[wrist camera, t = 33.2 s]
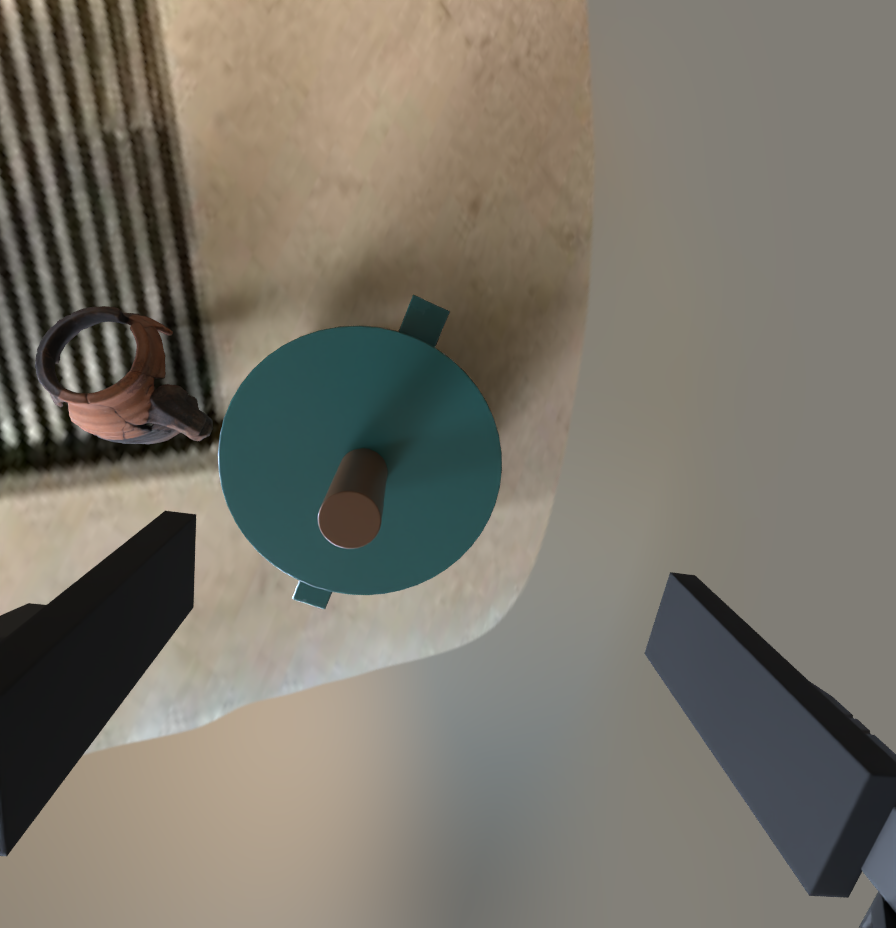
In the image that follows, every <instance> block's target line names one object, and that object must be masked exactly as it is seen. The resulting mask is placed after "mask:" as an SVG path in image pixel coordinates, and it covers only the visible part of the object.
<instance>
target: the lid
mask: <svg viewBox="0 0 896 928" xmlns="http://www.w3.org/2000/svg"><path fill="white" fill-rule="evenodd" d="M218 463H219V475H220V480H221V486H222V490H223V493H224V496H225V499H226V503H227V506H228V508H229V510H230V512H231V514H232V516H233V518H234V520H235V522H236V524H237V525H238V527H239V528H240V530H241V531H242V533H243V534H244V536H245V537H246V538H247V540H248V541H249V542H250V543H251V544H252V545H253V547H254V548H255V549H256V550H257V551H258V552H259V553H260V554H261V555H262V556H263V557H265V558H266V559H267V560H268V561H269V562H270V563H272V564H273V565H274V566H276V567H277V568H279V569H280V570H281V571H283V572H284V573H286V574H288V575H290V576H292V577H293V578H295V579H297V580H299V581H301V582H304V583H306V584H309V585H311V586H314V587H317V588H320V589H324V590H328V591H331V592H337V593H344V594H352V595H373V594H385V593H390V592H395V591H400V590H403V589H406V588H409V587H412V586H415V585H418V584H420V583H422V582H424V581H427V580H429V579H431V578H433V577H434V576H436V575H438V574H439V573H441V572H443V571H444V570H446V569H447V568H448V567H450V566H451V565H452V564H453V563H455V562H456V561H457V560H458V559H460V558H461V557H462V556H463V554H464V553H465V552H466V551H467V550H468V549H469V548H470V547H471V546H472V545H473V543H474V542H475V541H476V539H477V538H478V537H479V535H480V534H481V533H482V531H483V529H484V527H485V526H486V524H487V522H488V520H489V518H490V516H491V513H492V511H493V508H494V506H495V504H496V500H497V496H498V492H499V488H500V481H501V473H502V453H501V446H500V440H499V434H498V431H497V428H496V424H495V421H494V418H493V416H492V413H491V411H490V409H489V407H488V404H487V402H486V401H485V399H484V397H483V396H482V394H481V393H480V391H479V389H478V388H477V386H476V385H475V384H474V383H473V381H472V380H471V379H470V378H469V376H468V375H467V374H466V373H465V372H464V371H463V370H462V369H461V368H460V367H459V366H458V365H457V364H456V363H455V362H454V361H452V360H451V359H450V358H449V357H447V356H446V355H445V354H443V353H442V352H440V351H439V350H438V349H436V348H435V347H433V346H431V345H429V344H427V343H425V342H423V341H421V340H420V339H418V338H415V337H412V336H410V335H407V334H404V333H401V332H398V331H394V330H390V329H385V328H381V327H370V326H342V327H335V328H330V329H324V330H319V331H316V332H313V333H310V334H307V335H304V336H301V337H299V338H297V339H295V340H293V341H291V342H289V343H287V344H285V345H283V346H282V347H280V348H279V349H277V350H276V351H274V352H273V353H271V354H270V355H268V356H267V357H266V358H265V359H264V360H263V361H262V362H260V363H259V364H258V365H257V366H256V367H255V368H254V369H253V370H252V371H251V372H250V374H249V375H248V376H247V377H246V379H245V380H244V381H243V382H242V384H241V385H240V387H239V388H238V390H237V392H236V393H235V395H234V397H233V398H232V400H231V403H230V405H229V407H228V410H227V412H226V415H225V417H224V421H223V425H222V429H221V433H220V439H219V449H218Z"/></svg>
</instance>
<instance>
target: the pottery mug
mask: <svg viewBox="0 0 896 928" xmlns="http://www.w3.org/2000/svg"><path fill="white" fill-rule="evenodd" d="M101 322H118V323H122V324H129V325H131V327H130V330H131V331H132V333H133V335H134V337H135V340H136V344H137V350H136V356H135V360H134V362H133V365H132V367H131V370H130V371H129V372H128V373H127V374H126V375H125V376H124V377H123V378H122V379H121V380H120V381H118V382H117V383H116V384H114V385H112V386H111V387H109V388H107V389H104V390H101V391H99V392H95V393H88V394H84V393H75V392H72V391H70V390H67V389H65V388H64V387H62V386H61V384H60V383H59V381H58V379H57V377H56V374H55V363H59V360H60V354H61V352H62V350H63V348H64V347H65V345H66V344H67V343H68V342H69V341H70V340H71V339H72V338H73V337H75V336H76V335H77V334H78V333H79V332H80V331H81V330H83V329H86V328H88V327H90V326H93V325H95V324H97V323H101ZM158 331H159V332H162V333H164V334H166V335H172V333H173V332H172V331H171V330H170V329H168V328H167V327H165V326H164V325H162V324H161V323H159V322H157V321H155V320H153V319H151V318H148V317H145V316H141V315H139V314H134V313H122V311H120V310H119V309H118V308H115V307H106V306H102V307H90V308H85V309H81V310H79V311H76V312H74V313H72V314H71V315H69V316H66V317H64V318H63V319H61V320H59V321H58V322H57V323H56V324H55V325H54V326H53V327H51V328H50V329H49V330H48V332H47V333H46V334H45V336H44V337H43V338H42V340H41V342H40V345H39V347H38V349H37V354H36V365H35V368H36V373H37V377H38V379H39V382H40V383H41V384H42V385H43V386H44V388H45V389H46V390H47V391H48V392H49V393H50V395H51V397H52V399H53V402H54V403H55V404H56V405H57V406H60V407H62V406H63V403H62V402H68V404H69V407H68V410H69V415H70V417H71V421H72V422H73V423H75V424H77V425H78V426H79V427H80V428H81V429H83V430H85V431H87V432H89V433H92V434H94V435H96V436H98V437H99V438H102V439H105V440H109V441H112V442H118V443H126V444H132V443H133V444H154V443H159V442H163V441H166V440H168V439H170V438H172V437H173V436H175V435H177V434H178V433H180V432H181V433H183V434H185V435H186V436H188V437H189V438H190V439H193V440H195V441H200V440H202V439H203V438H205V437H207V436H209V435H210V434H211V431H212V429H213V426H212V419H211V418H210V417H208V416H207V415H206V414H204V413H203V412H202V411H200V410H199V408H198V403H197V399H196V398H195V397H192V396H190V395H188V392H186V391H185V390H183V388H182V387H180V386H178V385H169V384H165V385H161V386H159V387H158V388H157V389H156V390H155V389H154V379H164V378H165V373H166V372H165V353H164V349H163V344H162V340H161V337H160V335H159V333H158ZM148 422H149V423H151V424H153V425H152V426H150V427H149V426H145V425H143V424H146V423H148Z"/></svg>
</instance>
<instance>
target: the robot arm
mask: <svg viewBox="0 0 896 928" xmlns="http://www.w3.org/2000/svg"><path fill="white" fill-rule="evenodd" d="M195 537H196V515H195V514H187V513H179V512H171V511H164V512H163V513H162V514H161V515H159V516H158V517H157V518H156V519H154V520H153V521H152V522H151V523H149V524H148V525H147V526H146V527H144V528H143V529H142V530H140V531H139V532H138V533H137V534H135V535H134V536H133V537H132V538H130V539H129V540H128V541H127V542H125V543H124V544H123V545H122V546H120V547H119V548H118V549H117V550H115V551H114V552H113V553H112V554H110V555H109V556H108V557H106V558H105V559H104V560H103V561H101V562H100V563H99V564H98V565H96V566H95V567H94V568H93V569H91V570H90V571H89V572H88V573H86V574H85V575H84V576H83V577H81V578H80V579H79V580H78V581H76V582H75V583H74V584H72V585H71V586H70V587H69V588H67V589H66V590H65V591H64V592H62V593H61V594H60V595H59V596H57V597H56V598H55V599H54V600H52V601H51V602H50V603H49V604H47V605H41V604H31V603H28V604H26V605H24V606H21V607H19V608H17V609H14V610H12V611H10V612H8V613H5V614H3V615H1V616H0V856H7V855H8V854H9V853H10V851H11V850H12V848H13V847H14V846H15V845H16V843H17V842H18V841H19V839H20V838H21V837H22V835H23V834H24V833H25V831H26V830H27V828H28V827H29V826H30V825H31V823H32V822H33V821H34V819H35V818H36V817H37V815H38V814H39V813H40V811H41V810H42V808H43V807H44V806H45V804H46V803H47V802H48V801H49V799H50V798H51V797H52V795H53V794H54V793H55V791H56V790H57V789H58V787H59V786H60V785H61V783H62V782H63V780H64V779H65V778H66V777H67V775H68V774H69V773H70V771H71V770H72V768H73V767H74V766H75V765H76V763H77V762H78V760H79V759H80V758H81V757H82V755H83V754H84V753H85V751H86V750H87V749H88V747H89V746H90V745H91V743H92V742H93V741H94V739H95V738H96V737H97V735H98V734H99V733H100V731H101V730H102V729H103V727H104V726H105V725H106V723H107V722H108V721H109V719H110V718H111V717H112V715H113V714H114V713H115V711H116V710H117V709H118V707H119V706H120V705H121V703H122V702H123V701H124V699H125V698H126V697H127V695H128V694H129V693H130V691H131V690H132V689H133V687H134V686H135V685H136V683H137V682H138V681H139V679H140V678H141V677H142V675H143V674H144V673H145V671H146V670H147V669H148V667H149V666H150V665H151V663H152V662H153V661H154V659H155V658H156V657H157V655H158V654H159V653H160V651H161V650H162V649H163V647H164V646H165V645H166V643H167V642H168V641H169V639H170V638H171V637H172V635H173V634H174V633H175V631H176V630H177V629H178V627H179V626H180V625H181V623H182V622H183V621H184V619H185V618H186V616H187V615H188V614H189V612H190V611H191V610H192V608H193V604H194V571H195ZM645 655H646V656H647V658H648V659H649V661H650V662H651V664H652V665H653V667H654V668H655V670H656V671H657V673H658V674H659V676H660V677H661V678H662V680H663V681H664V683H665V684H666V686H667V687H668V689H669V690H670V692H671V693H672V695H673V696H674V698H675V699H676V700H677V702H678V703H679V705H680V706H681V708H682V709H683V711H684V712H685V714H686V715H687V717H688V718H689V720H690V721H691V722H692V724H693V725H694V727H695V728H696V730H697V731H698V733H699V734H700V736H701V737H702V739H703V740H704V742H705V743H706V745H707V746H708V748H709V749H710V750H711V752H712V753H713V755H714V756H715V758H716V759H717V761H718V762H719V764H720V765H721V766H722V768H723V770H724V771H725V772H726V774H727V775H728V776H729V778H730V780H731V781H732V783H733V784H734V786H735V787H736V789H737V790H738V792H739V793H740V794H741V796H742V797H743V799H744V800H745V802H746V803H747V805H748V806H749V807H750V809H751V810H752V812H753V814H754V815H755V816H756V818H757V819H758V821H759V822H760V824H761V825H762V827H763V828H764V830H765V831H766V833H767V834H768V835H769V837H770V839H771V840H772V841H773V843H774V844H775V846H776V847H777V849H778V850H779V852H780V853H781V855H782V856H783V858H784V859H785V861H786V862H787V864H788V865H789V866H790V868H791V869H792V871H793V872H794V874H795V875H796V877H797V878H798V879H799V881H800V883H801V884H802V886H803V887H804V888H805V890H806V891H807V893H808V894H809V896H826V897H849V895H850V893H851V892H852V890H853V888H854V886H855V884H856V882H857V880H858V878H859V876H860V874H861V872H862V871H863V873H864V874H865V875H866V876H867V878H868V879H869V880H870V881H871V883H872V884H873V885H874V886H875V888H876V889H877V890H878V893H877V895H876V897H875V899H874V901H873V903H872V904H871V906H870V908H869V910H868V912H867V913H866V915H865V917H864V919H863V921H862V922H861V924H860V926H859V928H896V754H895V753H894V752H892V751H891V750H890V749H889V748H888V747H887V746H886V745H885V744H884V743H883V742H881V741H880V740H879V739H878V738H877V737H876V736H875V735H871V734H870V730H868V729H867V728H866V727H865V726H864V725H863V724H862V723H861V722H860V721H859V720H857V719H854V718H853V715H852V714H851V713H850V712H849V711H848V710H846V709H845V708H844V707H843V706H842V705H841V704H840V703H839V702H838V701H837V700H835V699H834V698H833V697H832V696H831V695H829V694H828V693H826V692H825V691H823V690H822V689H820V688H819V687H817V686H816V685H814V684H813V683H811V682H810V681H808V680H807V679H806V678H805V677H804V676H803V675H802V674H801V673H800V672H799V671H797V670H796V669H795V668H794V667H793V666H792V665H791V664H790V663H789V662H788V661H787V660H786V659H784V658H783V657H782V656H781V655H780V654H779V653H778V652H777V651H776V650H775V649H774V648H773V647H771V646H770V645H769V644H768V643H767V642H766V641H765V640H764V639H763V638H762V637H761V636H760V635H759V634H757V632H755V631H754V630H753V629H752V628H751V627H750V626H749V625H748V624H747V623H746V622H745V621H743V619H741V618H740V617H739V616H738V615H737V614H736V613H735V612H734V611H733V610H732V609H730V608H729V606H727V605H726V604H725V603H724V602H723V601H722V600H721V599H720V598H719V597H718V596H717V595H716V594H715V593H713V592H712V591H711V590H710V589H709V588H708V587H707V586H706V585H705V584H704V583H703V582H702V581H701V580H699V579H698V578H697V577H696V576H695V575H687V574H679V573H670V575H669V578H668V581H667V584H666V587H665V591H664V594H663V597H662V600H661V603H660V606H659V609H658V613H657V616H656V619H655V622H654V625H653V628H652V632H651V635H650V638H649V641H648V644H647V648H646V651H645Z"/></svg>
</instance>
